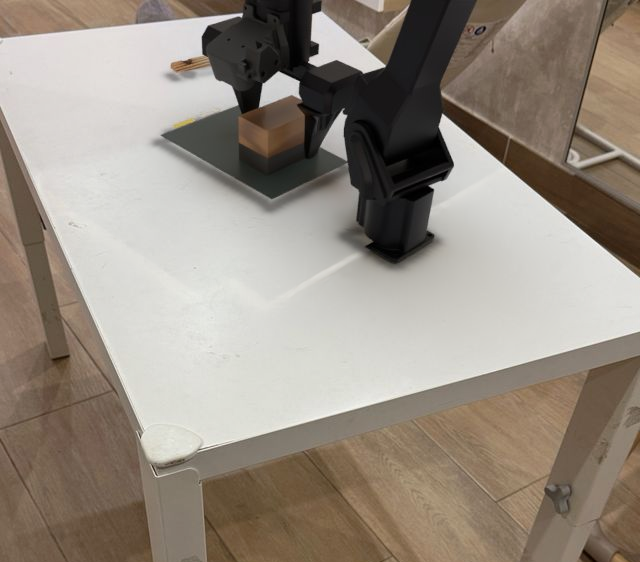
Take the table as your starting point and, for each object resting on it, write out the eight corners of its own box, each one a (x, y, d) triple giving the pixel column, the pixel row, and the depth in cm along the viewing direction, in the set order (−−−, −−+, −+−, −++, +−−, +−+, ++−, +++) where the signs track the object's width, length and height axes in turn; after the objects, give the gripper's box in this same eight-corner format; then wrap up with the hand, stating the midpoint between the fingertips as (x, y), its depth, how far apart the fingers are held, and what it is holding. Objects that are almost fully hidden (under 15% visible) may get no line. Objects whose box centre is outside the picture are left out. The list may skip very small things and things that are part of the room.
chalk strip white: (221, 109, 97) (217, 107, 97) (202, 117, 95) (197, 114, 96) (221, 117, 98) (217, 115, 98) (202, 125, 96) (198, 122, 97)
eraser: (318, 152, 91) (321, 109, 88) (267, 175, 87) (268, 131, 83) (290, 137, 93) (291, 94, 90) (238, 159, 89) (238, 115, 85)
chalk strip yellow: (196, 120, 95) (191, 117, 95) (176, 127, 93) (171, 125, 94) (196, 128, 96) (191, 125, 96) (176, 136, 94) (172, 133, 94)
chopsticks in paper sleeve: (314, 34, 109) (178, 65, 102) (314, 54, 111) (180, 86, 104) (300, 23, 112) (165, 53, 104) (299, 44, 114) (167, 74, 106)
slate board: (348, 170, 91) (349, 161, 90) (271, 207, 85) (271, 199, 84) (238, 112, 99) (238, 104, 98) (160, 143, 93) (160, 134, 92)
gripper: (155, -23, 78) (166, 132, 89) (294, 39, 70) (287, 202, 81) (241, -45, 84) (241, 104, 95) (378, 10, 75) (361, 165, 87)
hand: (279, 141), depth 89 cm, fingers open, 9 cm apart
